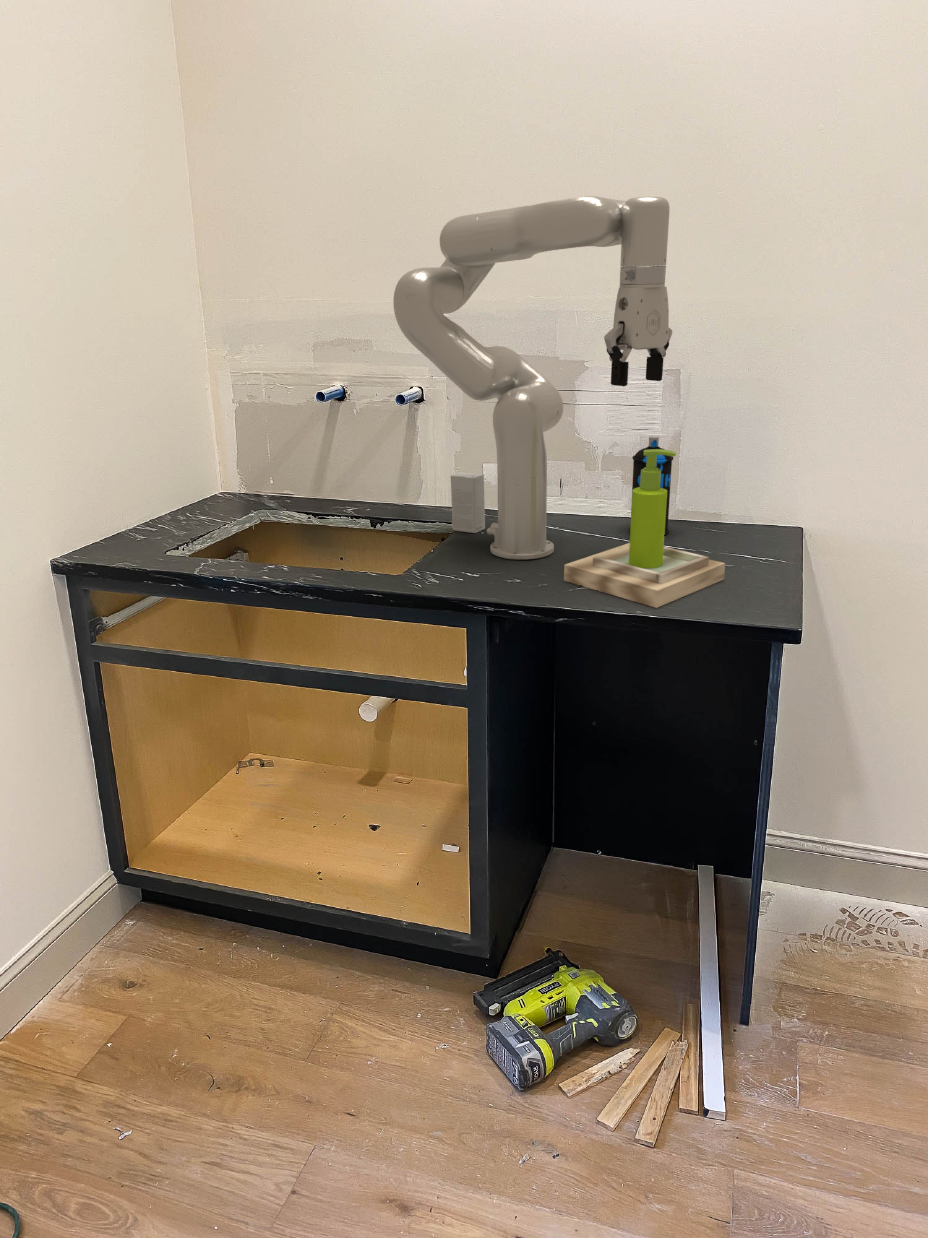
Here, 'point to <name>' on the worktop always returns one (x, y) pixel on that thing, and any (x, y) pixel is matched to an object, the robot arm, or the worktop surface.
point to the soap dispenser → (648, 515)
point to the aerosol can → (662, 463)
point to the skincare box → (468, 502)
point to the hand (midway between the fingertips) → (636, 382)
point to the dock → (645, 575)
